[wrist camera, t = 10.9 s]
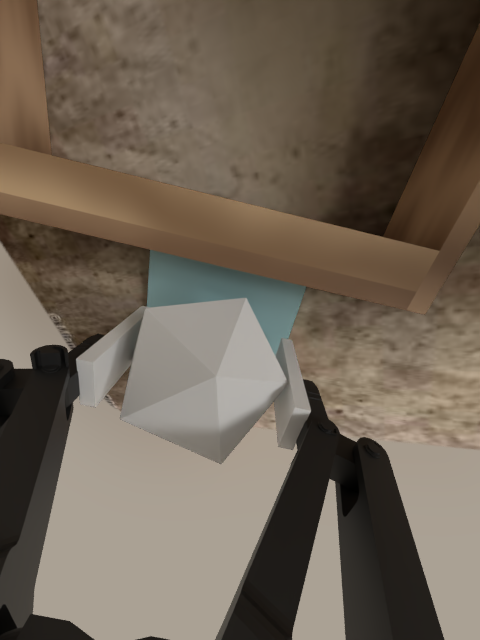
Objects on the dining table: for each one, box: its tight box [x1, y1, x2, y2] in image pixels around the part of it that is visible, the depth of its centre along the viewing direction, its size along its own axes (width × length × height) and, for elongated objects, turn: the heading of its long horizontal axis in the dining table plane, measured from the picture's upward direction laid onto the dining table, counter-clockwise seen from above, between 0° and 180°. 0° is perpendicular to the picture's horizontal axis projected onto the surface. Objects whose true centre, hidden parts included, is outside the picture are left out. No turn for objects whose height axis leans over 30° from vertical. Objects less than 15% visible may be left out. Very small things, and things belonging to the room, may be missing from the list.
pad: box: [147, 250, 306, 356], centre depth 19 cm, size 11×11×1 cm
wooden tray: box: [0, 0, 480, 315], centre depth 10 cm, size 18×24×6 cm
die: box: [120, 298, 288, 464], centre depth 14 cm, size 8×9×10 cm
